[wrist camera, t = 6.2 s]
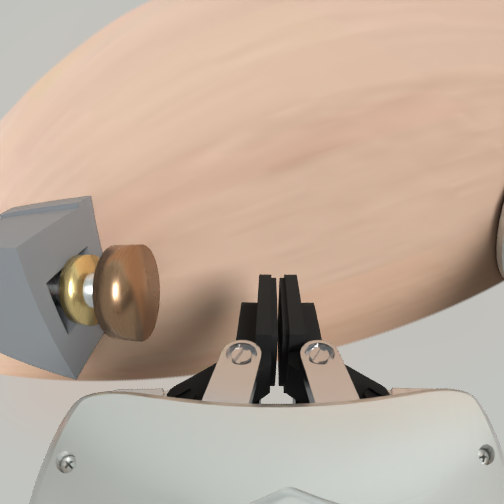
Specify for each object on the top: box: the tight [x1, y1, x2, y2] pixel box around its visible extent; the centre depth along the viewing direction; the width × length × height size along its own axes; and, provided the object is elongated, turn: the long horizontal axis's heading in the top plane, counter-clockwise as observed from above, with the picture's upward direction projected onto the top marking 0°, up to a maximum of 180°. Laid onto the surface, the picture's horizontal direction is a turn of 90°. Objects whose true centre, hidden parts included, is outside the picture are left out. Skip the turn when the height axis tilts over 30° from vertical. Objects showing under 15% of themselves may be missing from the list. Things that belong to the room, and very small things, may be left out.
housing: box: [0, 196, 104, 380], centre depth 14 cm, size 9×9×7 cm
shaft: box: [46, 245, 160, 341], centre depth 14 cm, size 13×5×5 cm, turn 91°
